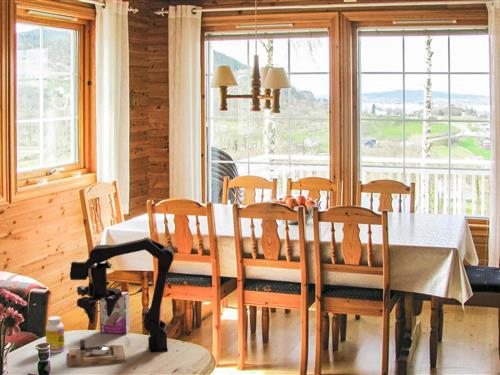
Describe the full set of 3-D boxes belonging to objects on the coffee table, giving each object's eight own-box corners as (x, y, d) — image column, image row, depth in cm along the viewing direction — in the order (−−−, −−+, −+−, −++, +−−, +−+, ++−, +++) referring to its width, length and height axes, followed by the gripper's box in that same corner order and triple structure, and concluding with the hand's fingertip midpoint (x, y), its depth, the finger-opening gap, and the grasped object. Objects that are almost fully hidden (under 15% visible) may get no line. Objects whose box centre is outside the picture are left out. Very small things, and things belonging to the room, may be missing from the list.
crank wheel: (108, 349, 289) (107, 334, 288) (110, 356, 283) (109, 340, 282) (79, 352, 286) (78, 337, 285) (80, 359, 280) (80, 343, 279)
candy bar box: (99, 333, 312) (98, 294, 310) (103, 329, 317) (102, 290, 314) (126, 334, 310) (125, 295, 308) (130, 330, 315) (129, 291, 313)
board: (123, 348, 295) (122, 342, 295) (125, 362, 281) (125, 355, 280) (69, 352, 291) (69, 346, 291) (69, 367, 276) (68, 360, 276)
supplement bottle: (60, 354, 289) (58, 321, 287) (43, 353, 291) (42, 320, 289) (67, 348, 296) (66, 315, 294) (51, 347, 297) (50, 314, 295)
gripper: (100, 271, 301) (101, 310, 303) (65, 282, 285) (67, 323, 288) (122, 275, 295) (123, 314, 297) (87, 286, 280) (89, 328, 282)
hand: (100, 319), depth 291 cm, fingers open, 9 cm apart
